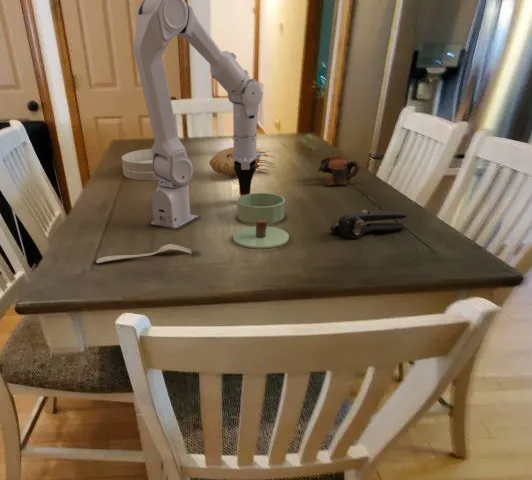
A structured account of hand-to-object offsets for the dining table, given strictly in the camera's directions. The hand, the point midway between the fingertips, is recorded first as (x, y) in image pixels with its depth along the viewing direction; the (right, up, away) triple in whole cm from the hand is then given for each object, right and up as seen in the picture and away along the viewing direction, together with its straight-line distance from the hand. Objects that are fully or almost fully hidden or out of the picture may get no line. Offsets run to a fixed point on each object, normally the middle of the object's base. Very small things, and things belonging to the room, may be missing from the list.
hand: (244, 191), depth 123 cm
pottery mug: (+29, +9, +15) cm, 34 cm away
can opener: (+27, -17, -19) cm, 37 cm away
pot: (+3, -9, -7) cm, 12 cm away
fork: (-22, -24, -25) cm, 41 cm away
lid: (+2, -18, -20) cm, 27 cm away
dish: (-28, +20, +33) cm, 48 cm away
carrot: (0, -3, +2) cm, 3 cm away
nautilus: (+1, +15, +26) cm, 30 cm away
